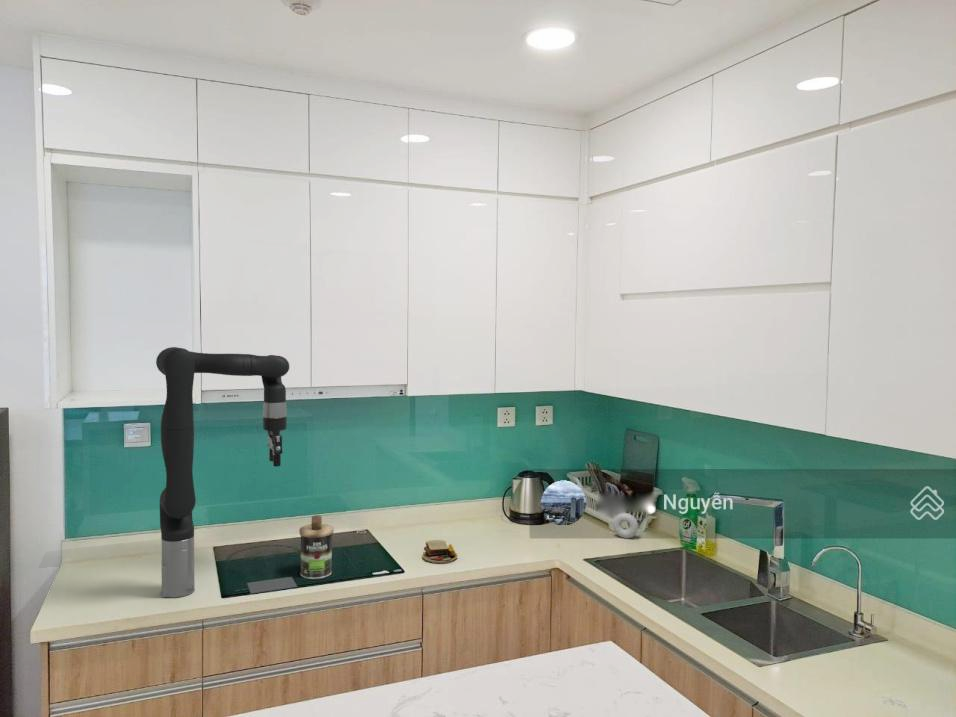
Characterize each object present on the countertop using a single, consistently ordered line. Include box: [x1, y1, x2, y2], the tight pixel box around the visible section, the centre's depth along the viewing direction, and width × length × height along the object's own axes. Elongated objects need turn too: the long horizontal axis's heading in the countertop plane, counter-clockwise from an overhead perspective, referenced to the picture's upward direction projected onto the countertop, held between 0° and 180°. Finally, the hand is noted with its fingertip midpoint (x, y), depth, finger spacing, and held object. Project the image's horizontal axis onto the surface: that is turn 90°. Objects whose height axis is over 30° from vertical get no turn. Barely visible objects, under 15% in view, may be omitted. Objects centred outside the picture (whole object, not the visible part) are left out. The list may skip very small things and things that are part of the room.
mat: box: [246, 576, 298, 594], centre depth 218 cm, size 14×9×1 cm, turn 115°
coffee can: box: [300, 533, 333, 580], centre depth 228 cm, size 10×10×14 cm
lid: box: [298, 515, 335, 538], centre depth 228 cm, size 11×11×5 cm
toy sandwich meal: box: [421, 539, 458, 564], centre depth 246 cm, size 12×14×5 cm
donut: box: [612, 512, 639, 539], centre depth 272 cm, size 10×4×10 cm, turn 66°
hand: (274, 463), depth 230 cm, fingers open, 8 cm apart
